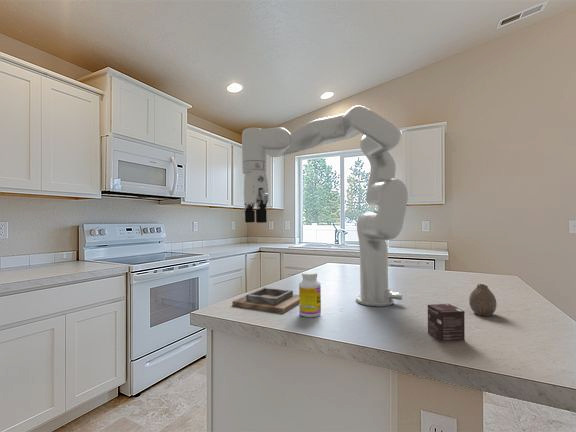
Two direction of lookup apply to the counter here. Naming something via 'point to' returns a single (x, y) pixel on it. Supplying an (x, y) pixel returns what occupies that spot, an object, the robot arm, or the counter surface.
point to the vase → (482, 301)
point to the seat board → (269, 300)
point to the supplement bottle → (309, 295)
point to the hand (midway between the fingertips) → (255, 222)
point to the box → (446, 323)
